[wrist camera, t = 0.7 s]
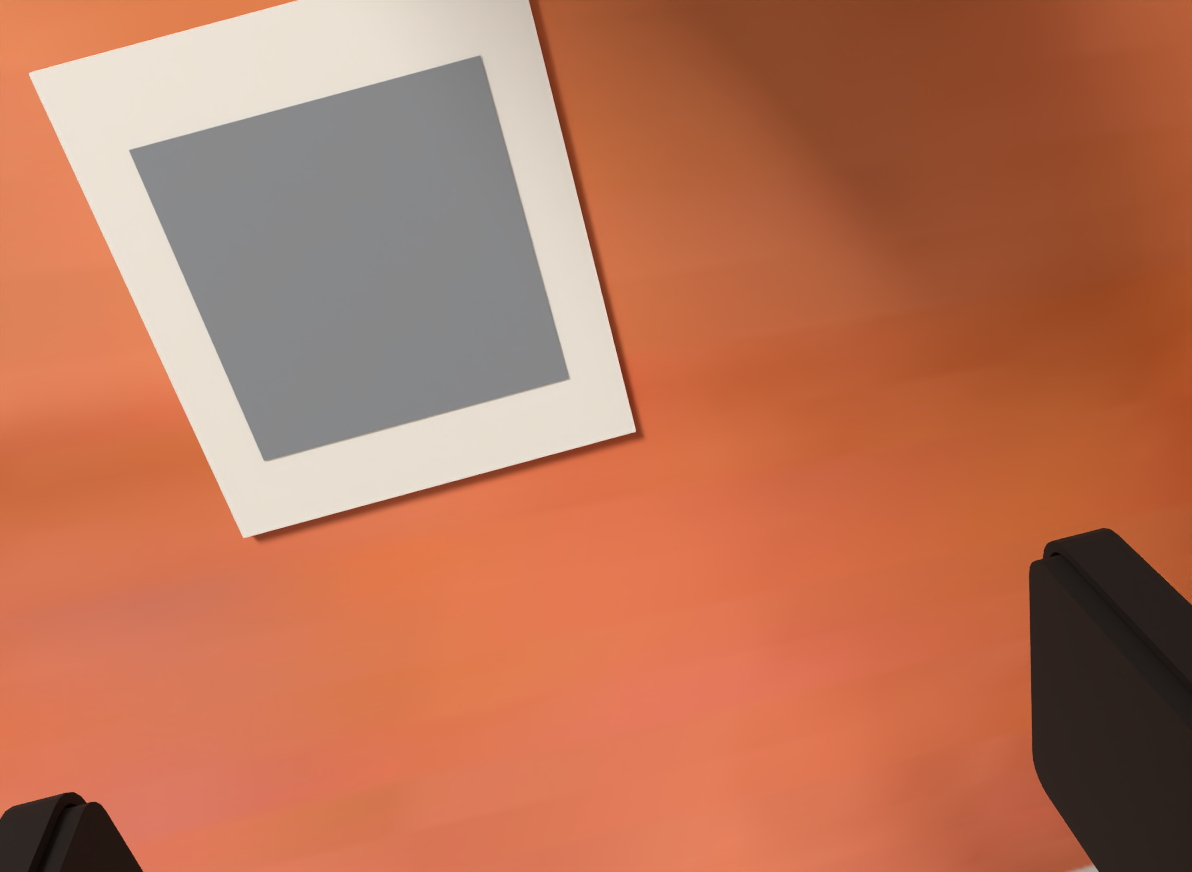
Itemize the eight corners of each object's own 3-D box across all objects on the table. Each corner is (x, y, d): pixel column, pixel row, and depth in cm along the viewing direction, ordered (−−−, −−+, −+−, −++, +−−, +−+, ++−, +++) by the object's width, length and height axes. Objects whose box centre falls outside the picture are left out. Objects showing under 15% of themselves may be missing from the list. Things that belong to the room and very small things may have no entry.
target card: (34, 70, 35) (27, 73, 34) (513, -58, 35) (514, -58, 34) (246, 530, 43) (243, 539, 42) (633, 425, 43) (636, 432, 42)
